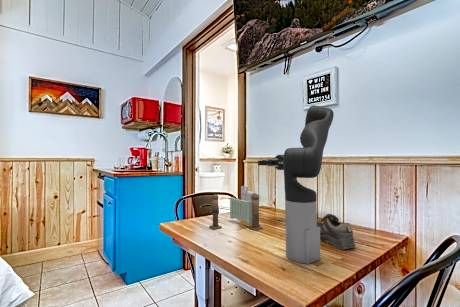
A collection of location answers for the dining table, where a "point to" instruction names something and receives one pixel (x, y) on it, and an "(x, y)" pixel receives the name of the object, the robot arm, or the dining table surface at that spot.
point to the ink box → (246, 194)
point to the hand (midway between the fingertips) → (259, 163)
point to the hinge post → (255, 212)
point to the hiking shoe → (336, 232)
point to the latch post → (215, 213)
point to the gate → (241, 210)
